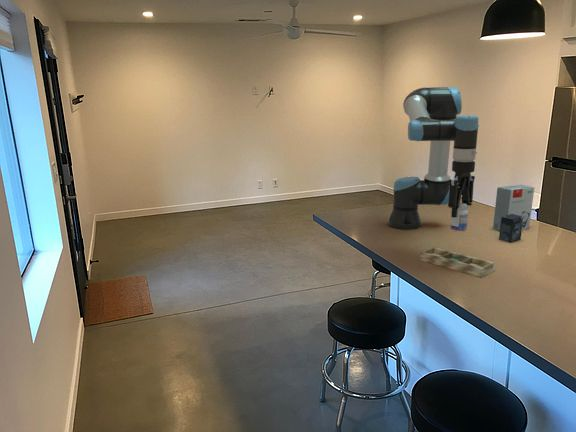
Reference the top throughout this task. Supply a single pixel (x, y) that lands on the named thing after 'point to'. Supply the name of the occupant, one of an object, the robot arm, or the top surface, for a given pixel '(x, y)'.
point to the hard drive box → (513, 204)
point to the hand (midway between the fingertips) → (458, 224)
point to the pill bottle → (461, 219)
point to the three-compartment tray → (457, 262)
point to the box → (511, 228)
